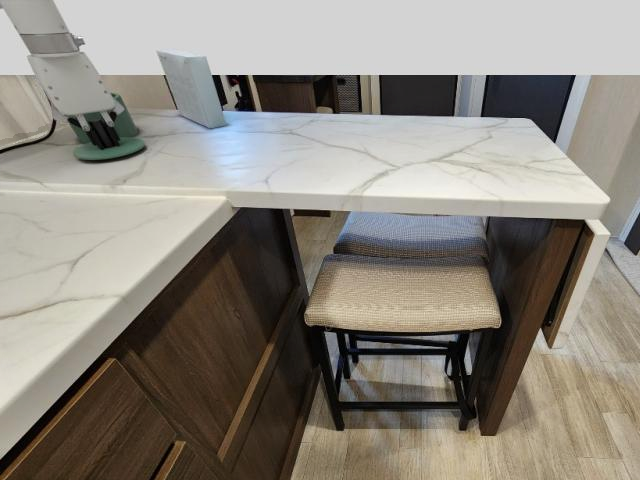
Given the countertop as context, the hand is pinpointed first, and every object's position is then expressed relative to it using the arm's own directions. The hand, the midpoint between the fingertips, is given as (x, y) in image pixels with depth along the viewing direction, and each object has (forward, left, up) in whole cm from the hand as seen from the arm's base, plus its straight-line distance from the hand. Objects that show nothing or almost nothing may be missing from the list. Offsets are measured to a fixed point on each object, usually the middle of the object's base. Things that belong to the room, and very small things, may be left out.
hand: (108, 145), depth 75 cm
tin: (+3, +15, -2) cm, 15 cm away
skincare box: (+26, +12, -2) cm, 29 cm away
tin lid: (0, 0, -1) cm, 1 cm away
